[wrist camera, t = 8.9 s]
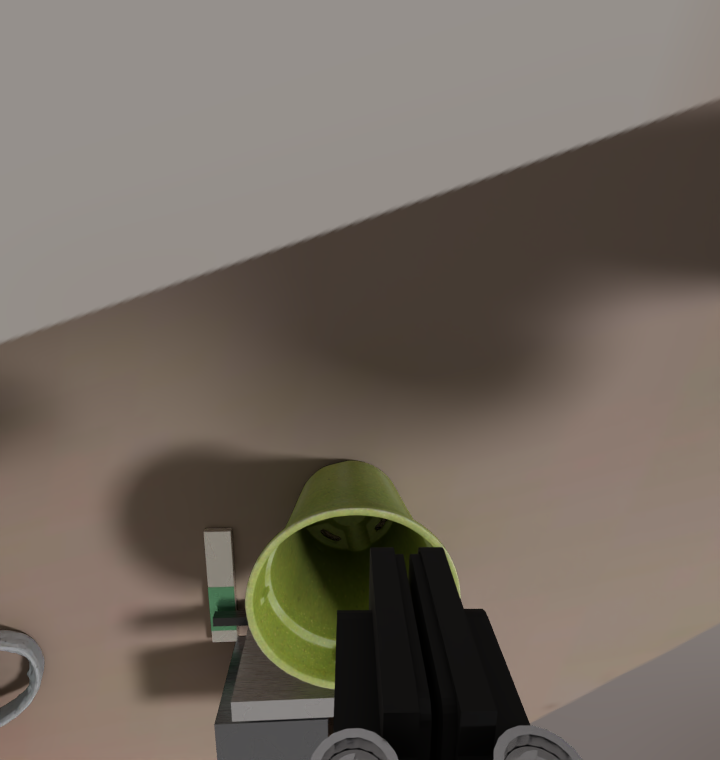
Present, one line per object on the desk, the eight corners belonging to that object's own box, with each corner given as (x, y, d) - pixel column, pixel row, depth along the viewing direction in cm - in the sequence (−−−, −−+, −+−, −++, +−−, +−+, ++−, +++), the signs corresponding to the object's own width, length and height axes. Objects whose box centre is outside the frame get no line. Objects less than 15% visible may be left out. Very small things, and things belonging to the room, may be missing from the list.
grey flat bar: (216, 602, 29) (180, 704, 22) (440, 595, 30) (471, 691, 23) (220, 654, 30) (187, 767, 23) (437, 646, 31) (466, 753, 24)
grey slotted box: (205, 528, 28) (171, 596, 22) (463, 522, 29) (496, 586, 23) (218, 686, 31) (191, 783, 25) (452, 677, 32) (479, 767, 26)
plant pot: (378, 592, 30) (395, 718, 22) (246, 536, 29) (209, 648, 20) (450, 474, 28) (500, 562, 20) (314, 407, 27) (305, 472, 18)
